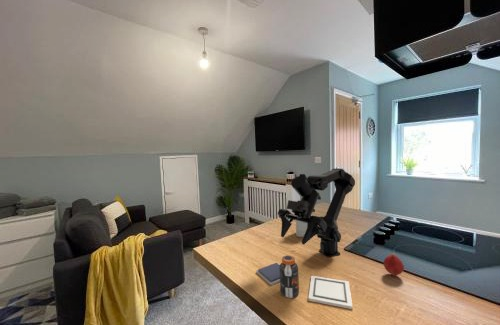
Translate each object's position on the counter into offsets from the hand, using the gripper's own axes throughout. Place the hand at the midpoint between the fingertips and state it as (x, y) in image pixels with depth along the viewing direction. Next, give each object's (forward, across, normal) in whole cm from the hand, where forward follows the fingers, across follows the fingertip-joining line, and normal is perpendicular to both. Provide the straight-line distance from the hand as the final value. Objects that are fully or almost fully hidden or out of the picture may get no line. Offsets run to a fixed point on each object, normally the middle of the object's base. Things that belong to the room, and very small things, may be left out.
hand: (291, 240), depth 74 cm
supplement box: (-14, -20, +35) cm, 43 cm away
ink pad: (+12, -6, +7) cm, 15 cm away
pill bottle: (+15, +4, +4) cm, 16 cm away
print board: (+9, +13, +10) cm, 19 cm away
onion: (-7, +24, +28) cm, 38 cm away
